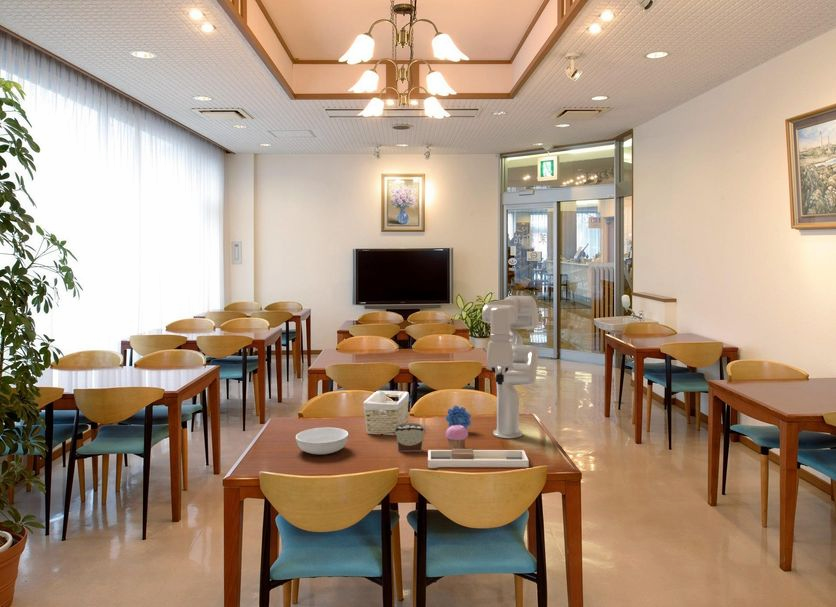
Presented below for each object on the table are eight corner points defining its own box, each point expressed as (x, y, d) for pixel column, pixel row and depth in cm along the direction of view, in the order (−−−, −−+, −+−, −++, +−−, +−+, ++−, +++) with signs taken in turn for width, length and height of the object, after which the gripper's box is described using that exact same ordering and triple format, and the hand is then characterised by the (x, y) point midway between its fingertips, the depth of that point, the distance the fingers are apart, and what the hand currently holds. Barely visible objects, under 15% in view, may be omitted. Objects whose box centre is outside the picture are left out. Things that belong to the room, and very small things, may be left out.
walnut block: (451, 459, 246) (451, 448, 245) (472, 458, 246) (472, 448, 245) (452, 464, 240) (452, 453, 239) (473, 464, 240) (473, 453, 239)
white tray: (428, 457, 249) (428, 450, 249) (523, 457, 248) (523, 450, 248) (428, 468, 237) (427, 460, 237) (528, 468, 236) (528, 460, 236)
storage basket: (398, 437, 277) (398, 403, 276) (362, 434, 280) (361, 401, 279) (410, 422, 300) (410, 391, 299) (376, 420, 304) (376, 389, 302)
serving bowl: (291, 446, 264) (291, 430, 263) (341, 441, 271) (341, 425, 271) (301, 462, 244) (300, 444, 244) (354, 455, 252) (354, 438, 251)
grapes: (448, 435, 278) (448, 408, 277) (444, 431, 285) (444, 404, 284) (474, 433, 280) (474, 406, 279) (469, 429, 287) (469, 403, 286)
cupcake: (471, 448, 260) (471, 424, 259) (461, 454, 253) (461, 429, 252) (452, 445, 265) (451, 421, 264) (441, 450, 257) (441, 426, 256)
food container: (424, 446, 263) (424, 422, 263) (425, 451, 257) (425, 426, 256) (394, 446, 263) (394, 422, 262) (394, 451, 257) (394, 426, 256)
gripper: (517, 336, 257) (517, 382, 259) (480, 336, 257) (480, 382, 259) (520, 339, 250) (519, 385, 251) (481, 339, 250) (481, 386, 251)
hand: (499, 383), depth 255 cm, fingers closed
